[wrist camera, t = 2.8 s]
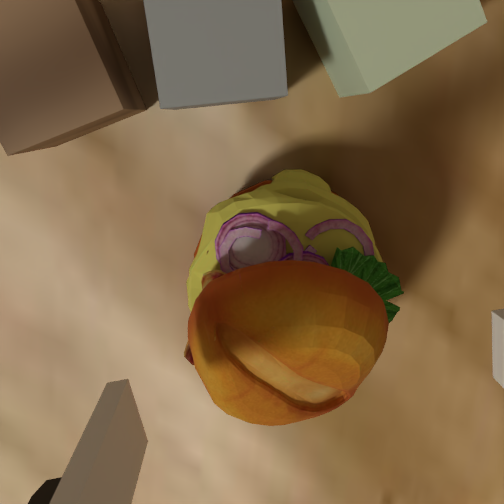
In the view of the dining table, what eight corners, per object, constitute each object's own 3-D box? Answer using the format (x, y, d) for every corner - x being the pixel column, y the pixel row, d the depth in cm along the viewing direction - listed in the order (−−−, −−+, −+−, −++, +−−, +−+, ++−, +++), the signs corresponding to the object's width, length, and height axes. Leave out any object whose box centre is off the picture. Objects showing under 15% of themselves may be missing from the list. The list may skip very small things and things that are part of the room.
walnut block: (4, 44, 20) (-66, 22, 15) (101, 3, 20) (60, -32, 15) (56, 146, 22) (7, 155, 17) (147, 110, 21) (123, 109, 17)
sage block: (291, 0, 20) (311, -35, 15) (386, -62, 20) (437, -118, 15) (339, 97, 22) (370, 92, 17) (429, 42, 21) (487, 22, 16)
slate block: (159, -4, 20) (137, -41, 15) (266, -14, 20) (277, -54, 15) (175, 109, 21) (160, 108, 17) (274, 99, 21) (287, 95, 17)
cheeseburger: (395, 178, 23) (486, 292, 14) (337, 327, 28) (377, 473, 20) (207, 144, 22) (184, 246, 13) (184, 306, 27) (158, 452, 19)
